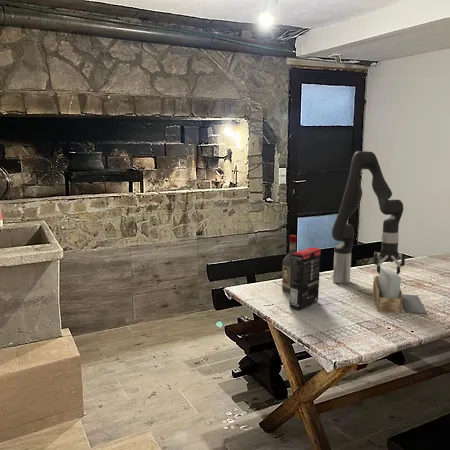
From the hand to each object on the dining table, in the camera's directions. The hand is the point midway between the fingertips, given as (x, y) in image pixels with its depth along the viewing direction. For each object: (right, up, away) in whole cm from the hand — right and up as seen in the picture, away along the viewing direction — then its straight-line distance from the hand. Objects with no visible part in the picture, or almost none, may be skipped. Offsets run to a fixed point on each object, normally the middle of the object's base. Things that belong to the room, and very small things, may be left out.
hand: (388, 273), depth 220 cm
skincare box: (0, -15, +3) cm, 15 cm away
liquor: (-44, -12, +21) cm, 50 cm away
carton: (0, -15, +3) cm, 15 cm away
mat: (+12, -15, 0) cm, 19 cm away
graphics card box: (-41, -15, 0) cm, 44 cm away
